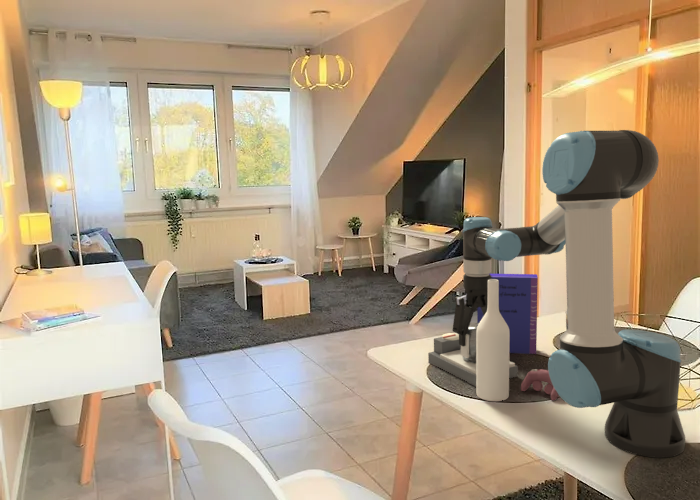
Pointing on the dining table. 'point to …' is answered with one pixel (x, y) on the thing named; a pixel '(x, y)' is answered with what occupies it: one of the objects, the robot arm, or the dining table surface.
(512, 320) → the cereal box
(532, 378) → the video game controller
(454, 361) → the platform scale
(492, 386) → the bottle
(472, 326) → the steel weight
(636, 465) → the dining table surface
